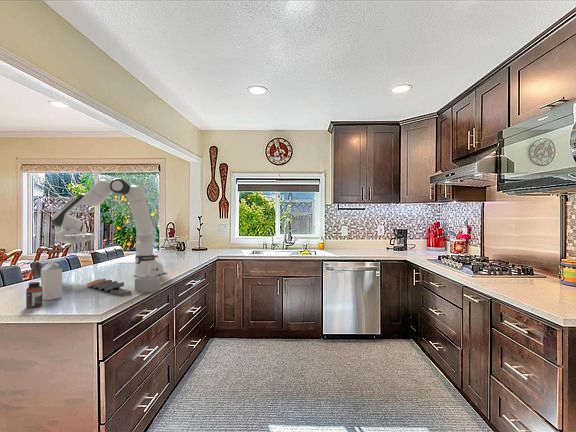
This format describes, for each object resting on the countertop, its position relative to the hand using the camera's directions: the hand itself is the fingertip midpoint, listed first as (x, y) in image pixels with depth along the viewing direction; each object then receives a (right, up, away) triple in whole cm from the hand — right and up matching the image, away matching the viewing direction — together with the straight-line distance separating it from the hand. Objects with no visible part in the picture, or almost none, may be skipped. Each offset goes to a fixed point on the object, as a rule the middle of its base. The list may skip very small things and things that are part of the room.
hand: (82, 238), depth 208 cm
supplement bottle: (+12, -28, -55) cm, 63 cm away
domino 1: (+18, -27, -14) cm, 35 cm away
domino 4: (+33, -27, -25) cm, 50 cm away
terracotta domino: (+12, -27, -10) cm, 31 cm away
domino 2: (+23, -27, -18) cm, 40 cm away
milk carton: (+9, -28, -39) cm, 49 cm away
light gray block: (+49, -29, -19) cm, 60 cm away
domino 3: (+28, -27, -22) cm, 45 cm away
